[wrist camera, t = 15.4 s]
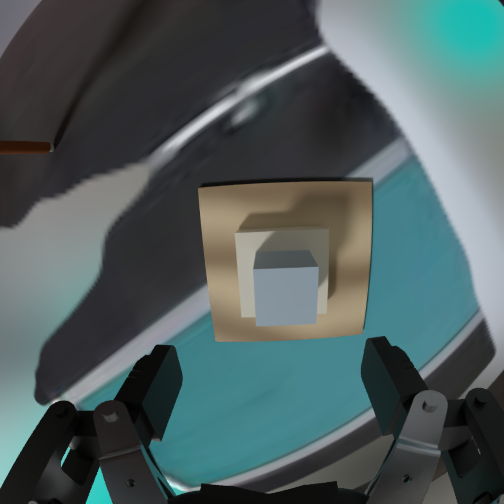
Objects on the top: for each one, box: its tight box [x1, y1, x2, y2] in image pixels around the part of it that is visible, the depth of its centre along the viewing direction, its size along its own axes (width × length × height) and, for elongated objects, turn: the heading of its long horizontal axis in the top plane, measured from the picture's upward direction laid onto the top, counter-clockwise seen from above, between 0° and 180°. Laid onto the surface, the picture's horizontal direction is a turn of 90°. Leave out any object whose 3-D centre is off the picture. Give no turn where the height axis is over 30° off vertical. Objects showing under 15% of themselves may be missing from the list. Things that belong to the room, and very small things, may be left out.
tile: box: [235, 226, 329, 318], centre depth 22 cm, size 7×2×7 cm
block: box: [253, 250, 319, 326], centre depth 19 cm, size 4×4×4 cm
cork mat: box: [198, 181, 372, 342], centre depth 22 cm, size 14×14×1 cm
